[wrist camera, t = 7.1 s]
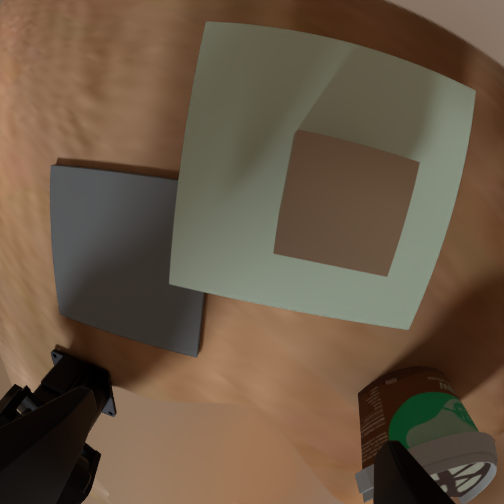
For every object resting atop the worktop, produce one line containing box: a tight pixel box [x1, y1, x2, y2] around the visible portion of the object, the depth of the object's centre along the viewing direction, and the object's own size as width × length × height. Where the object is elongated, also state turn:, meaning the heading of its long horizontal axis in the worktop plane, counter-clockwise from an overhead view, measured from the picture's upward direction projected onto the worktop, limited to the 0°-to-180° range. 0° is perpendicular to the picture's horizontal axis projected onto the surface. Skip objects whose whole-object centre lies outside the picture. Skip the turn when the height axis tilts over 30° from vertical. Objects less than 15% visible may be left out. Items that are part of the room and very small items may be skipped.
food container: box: [355, 367, 497, 504], centre depth 16 cm, size 12×6×10 cm, turn 61°
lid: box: [169, 21, 476, 330], centre depth 9 cm, size 11×11×5 cm
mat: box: [50, 164, 205, 357], centre depth 20 cm, size 12×12×1 cm
